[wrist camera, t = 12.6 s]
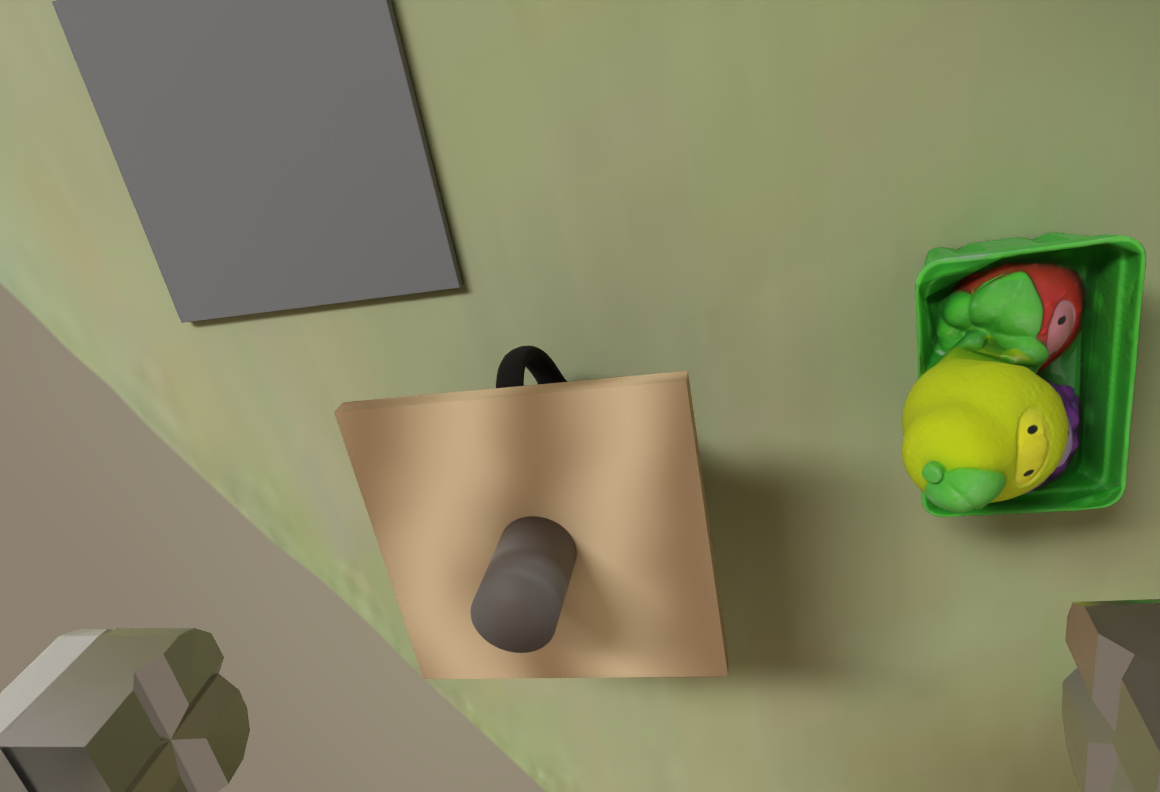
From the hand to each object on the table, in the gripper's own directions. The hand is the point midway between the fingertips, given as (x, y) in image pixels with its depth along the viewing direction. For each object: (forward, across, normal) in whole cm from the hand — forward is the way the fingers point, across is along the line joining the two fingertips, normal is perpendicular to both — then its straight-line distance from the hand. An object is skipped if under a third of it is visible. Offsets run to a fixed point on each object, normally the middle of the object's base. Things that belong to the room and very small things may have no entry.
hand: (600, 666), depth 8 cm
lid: (+21, +8, +13) cm, 26 cm away
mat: (+31, +20, -2) cm, 37 cm away
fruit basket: (+31, -10, +11) cm, 35 cm away
